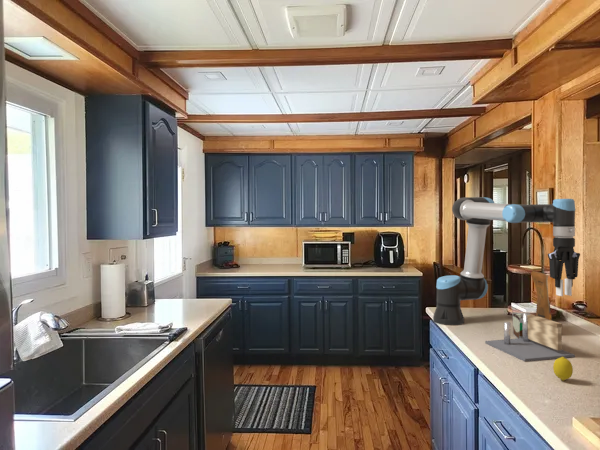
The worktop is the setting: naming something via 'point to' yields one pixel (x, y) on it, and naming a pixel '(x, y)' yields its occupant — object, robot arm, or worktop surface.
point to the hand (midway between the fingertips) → (563, 295)
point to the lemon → (563, 368)
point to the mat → (529, 350)
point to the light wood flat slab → (545, 331)
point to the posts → (525, 330)
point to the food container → (518, 324)
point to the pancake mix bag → (542, 295)
